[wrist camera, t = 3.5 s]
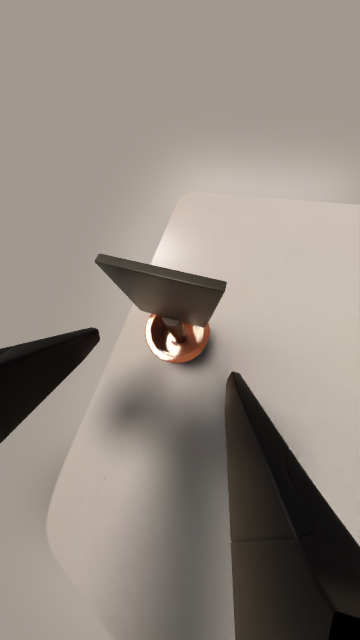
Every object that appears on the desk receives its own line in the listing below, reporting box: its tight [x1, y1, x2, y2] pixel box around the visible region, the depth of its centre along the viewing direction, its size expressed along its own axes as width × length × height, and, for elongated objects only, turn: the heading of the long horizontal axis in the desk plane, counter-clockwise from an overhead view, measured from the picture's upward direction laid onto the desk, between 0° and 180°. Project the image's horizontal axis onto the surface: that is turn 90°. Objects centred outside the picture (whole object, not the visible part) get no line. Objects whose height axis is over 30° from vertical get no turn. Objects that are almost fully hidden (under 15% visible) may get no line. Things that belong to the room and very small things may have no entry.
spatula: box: [95, 254, 227, 343], centre depth 11 cm, size 2×5×14 cm, turn 73°
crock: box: [145, 314, 210, 363], centre depth 16 cm, size 6×6×6 cm
